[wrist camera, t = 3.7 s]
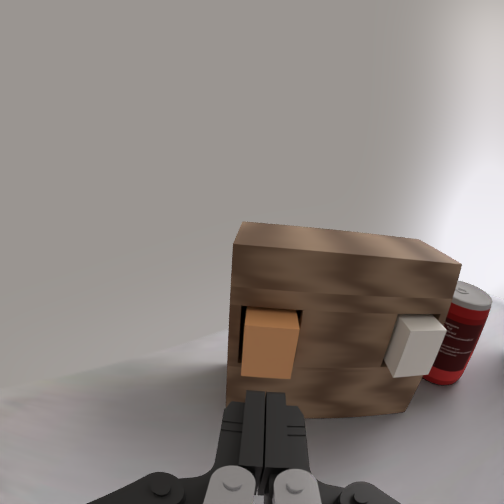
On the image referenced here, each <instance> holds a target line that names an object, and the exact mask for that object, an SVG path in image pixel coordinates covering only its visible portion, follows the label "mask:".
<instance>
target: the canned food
mask: <svg viewBox="0 0 504 504" xmlns="http://www.w3.org/2000/svg"><path fill="white" fill-rule="evenodd" d="M491 304H492V299H491V297H490V296H489V295H488V294H487V293H486V292H484V291H483V290H481V289H480V288H478V287H475V286H474V285H471V284H468V283H465V282H462V281H457V285H456V288H455V292H454V295H453V298H452V302H451V305H450V308H449V311H448V314H447V317H446V320H445V323H444V325H443V326H444V327H445V328H446V330H447V331H446V334H445V336H444V339H443V342H442V344H441V347H440V349H439V351H438V354H437V356H436V358H435V361H434V363H433V365H432V368H431V370H430V372H429V374H428V375H423V378H424V379H426V380H427V381H429V382H432V383H435V384H438V385H449V384H453V383H455V382H456V381H457V380H458V379H459V378H460V377H461V376H462V374H463V372H464V370H465V368H466V366H467V364H468V362H469V360H470V358H471V355H472V353H473V351H474V349H475V347H476V344H477V342H478V340H479V337H480V335H481V332H482V330H483V327H484V325H485V322H486V320H487V317H488V314H489V311H490V308H491Z"/></svg>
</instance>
